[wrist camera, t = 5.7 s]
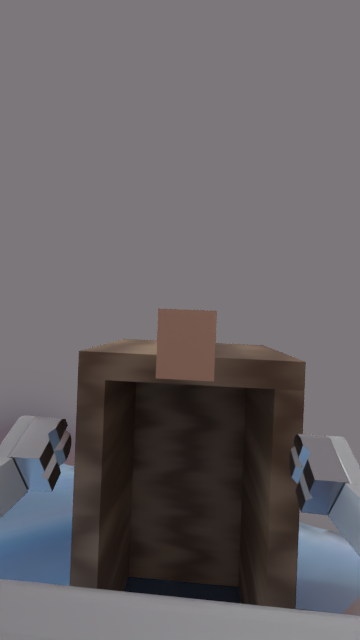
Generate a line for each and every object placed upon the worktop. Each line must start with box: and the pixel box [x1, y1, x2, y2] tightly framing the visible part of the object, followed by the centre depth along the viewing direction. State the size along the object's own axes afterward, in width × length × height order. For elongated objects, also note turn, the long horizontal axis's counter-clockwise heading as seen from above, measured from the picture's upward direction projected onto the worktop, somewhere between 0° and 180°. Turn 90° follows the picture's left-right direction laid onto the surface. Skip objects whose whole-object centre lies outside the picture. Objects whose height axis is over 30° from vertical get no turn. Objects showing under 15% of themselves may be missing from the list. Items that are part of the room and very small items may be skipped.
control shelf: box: [70, 339, 305, 609], centre depth 27 cm, size 16×13×26 cm
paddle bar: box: [156, 309, 217, 381], centre depth 22 cm, size 2×20×3 cm, turn 176°
